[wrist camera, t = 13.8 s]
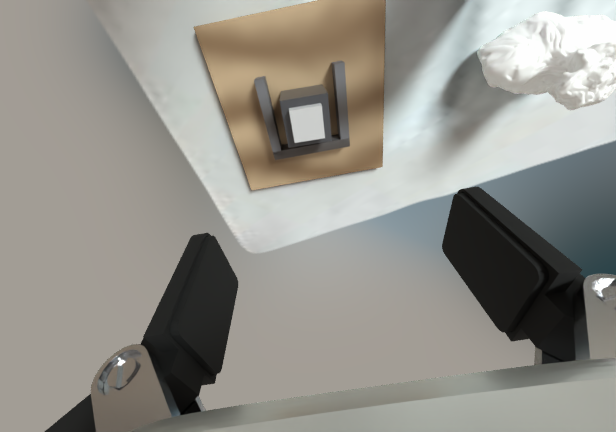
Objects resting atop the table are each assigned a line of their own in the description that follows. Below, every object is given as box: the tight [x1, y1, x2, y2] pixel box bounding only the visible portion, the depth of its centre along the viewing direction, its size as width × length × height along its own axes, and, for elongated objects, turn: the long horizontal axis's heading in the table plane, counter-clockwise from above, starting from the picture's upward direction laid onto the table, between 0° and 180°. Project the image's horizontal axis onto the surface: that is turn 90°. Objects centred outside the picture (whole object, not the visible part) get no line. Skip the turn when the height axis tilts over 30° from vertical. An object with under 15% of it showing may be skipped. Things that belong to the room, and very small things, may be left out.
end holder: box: [194, 0, 386, 190], centre depth 27 cm, size 18×18×3 cm
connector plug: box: [280, 84, 332, 148], centre depth 25 cm, size 4×4×6 cm
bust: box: [477, 11, 616, 110], centre depth 23 cm, size 12×8×11 cm
